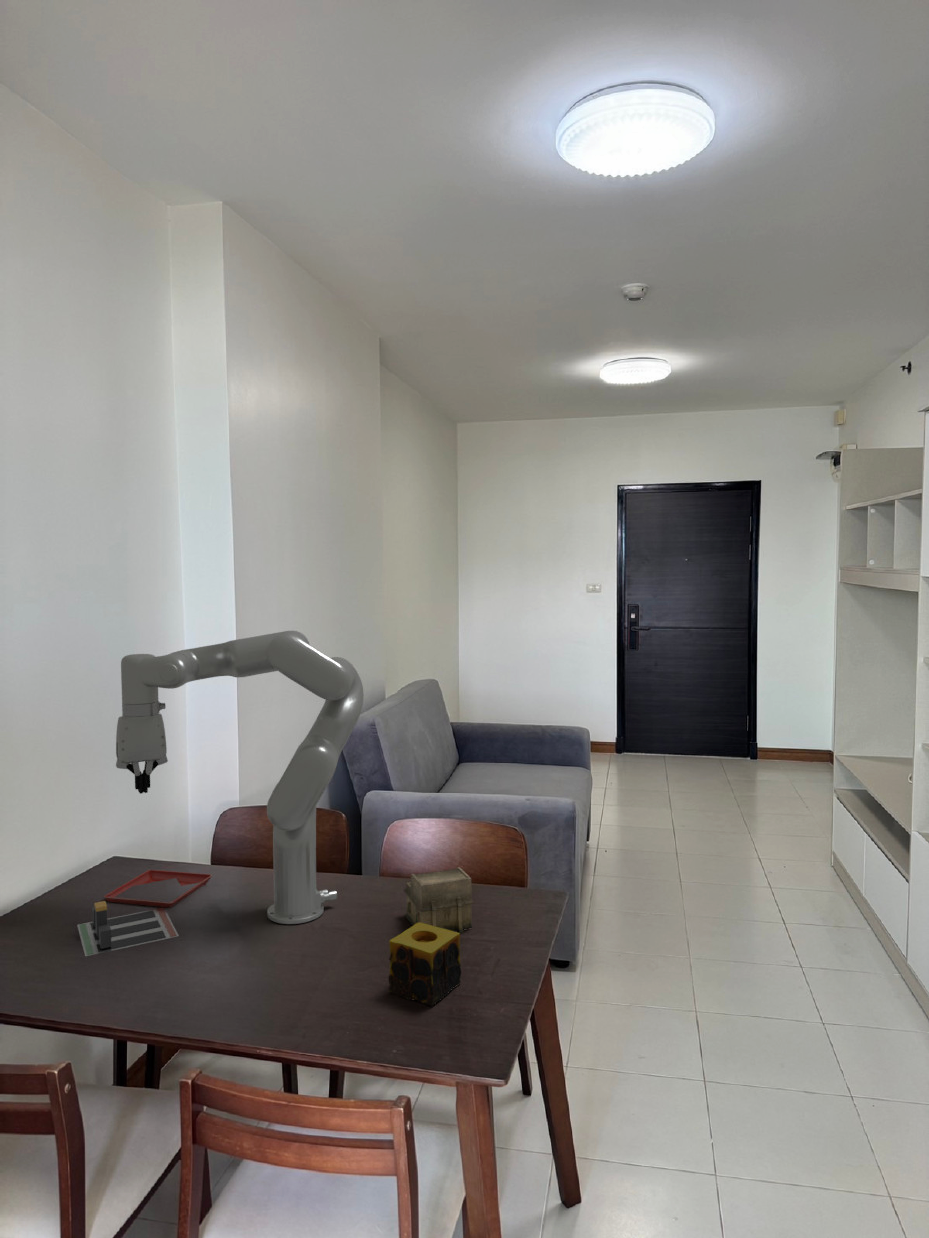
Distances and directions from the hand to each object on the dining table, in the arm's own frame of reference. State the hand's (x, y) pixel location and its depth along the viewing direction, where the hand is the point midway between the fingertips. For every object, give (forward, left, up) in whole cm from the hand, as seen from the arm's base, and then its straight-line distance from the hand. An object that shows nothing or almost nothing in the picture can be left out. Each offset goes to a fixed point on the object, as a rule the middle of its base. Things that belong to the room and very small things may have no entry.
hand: (142, 791), depth 183 cm
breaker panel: (+5, +8, -29) cm, 30 cm away
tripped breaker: (+10, +8, -28) cm, 30 cm away
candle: (-40, +59, -29) cm, 77 cm away
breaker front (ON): (+10, +14, -28) cm, 32 cm away
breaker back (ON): (+10, +2, -28) cm, 29 cm away
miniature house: (-57, +35, -30) cm, 73 cm away
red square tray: (-5, -12, -30) cm, 32 cm away
